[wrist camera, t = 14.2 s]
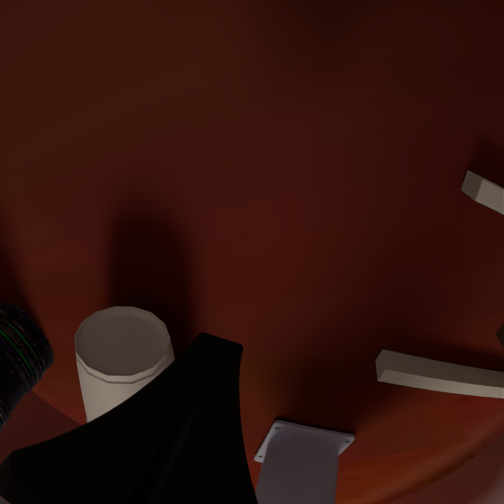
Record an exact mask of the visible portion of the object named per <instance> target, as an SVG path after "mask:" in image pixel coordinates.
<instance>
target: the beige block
mask: <svg viewBox="0 0 504 504" xmlns="http://www.w3.org/2000/svg"><path fill="white" fill-rule="evenodd" d="M496 335H497V337H498V339H499V341H500V342H501V344H502V346H503V348H504V323H503V324H502V326H501V327H500V329H499V330H498V332H497V333H496Z"/></svg>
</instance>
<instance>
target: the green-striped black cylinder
mask: <svg viewBox="0 0 504 504" xmlns="http://www.w3.org/2000/svg"><path fill="white" fill-rule="evenodd" d="M53 362H54V355H53V351H52V349H51V346H50V344H49V342H48V340H47V339H46V337H45V335H44V334H43V332H42V331H41V330H40V328H39V327H38V326H37V325H36V323H35V322H34V321H33V320H32V319H31V318H30V317H29V316H28V315H27V314H26V313H25V312H24V311H23V310H21V309H20V308H19V307H17V306H16V305H14V304H12V303H9V302H5V303H3V304H2V305H1V306H0V431H1V430H2V428H3V426H2V425H4V424H5V423H6V422H7V421H8V419H9V418H10V413H11V412H12V410H13V409H14V408H15V406H16V405H17V404H18V402H19V401H20V400H21V399H22V397H23V396H24V395H25V394H26V393H29V392H30V391H31V389H32V388H33V387H34V385H36V384H37V383H38V382H39V381H40V379H41V378H42V376H43V374H44V373H45V372H46V369H47V368H49V367H50V366H51V365H52V363H53Z"/></svg>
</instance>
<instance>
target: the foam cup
mask: <svg viewBox="0 0 504 504" xmlns="http://www.w3.org/2000/svg"><path fill="white" fill-rule="evenodd" d="M74 337H75V350H76V360H77V367H78V373H79V379H80V385H81V391H82V396H83V401H84V406H85V411H86V415H87V419H86V422H87V423H88V422H90V421H92V420H94V419H95V418H97V417H99V416H101V415H102V414H104V413H106V412H108V411H109V410H111V409H113V408H114V407H116V406H117V405H119V404H120V403H122V402H123V401H125V400H126V399H128V398H129V397H131V396H132V395H134V394H135V393H136V392H138V391H139V390H140V389H141V388H143V387H144V386H145V385H146V384H148V383H149V382H150V381H152V380H153V379H154V378H155V377H157V376H158V375H159V374H160V373H161V372H162V371H163V370H164V369H166V368H167V367H168V366H169V365H170V364H171V363H172V362H173V361H174V360H175V357H174V352H173V348H172V344H171V341H170V336H169V333H168V331H167V328H166V326H165V323H164V322H162V321H161V320H160V319H159V318H157V317H156V316H155V315H154V314H153V313H151V312H148V311H145V310H142V309H139V308H136V307H118V306H114V307H111V308H107V309H104V310H100V311H97V312H95V313H94V314H92V315H91V316H90V317H88V318H87V319H85V320H84V321H83V322H82V323H81V325H80V327H79V329H78V330H77V332H76V334H75V336H74Z"/></svg>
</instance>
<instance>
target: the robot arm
mask: <svg viewBox="0 0 504 504" xmlns="http://www.w3.org/2000/svg"><path fill="white" fill-rule="evenodd" d="M242 352H243V346H242V345H241V344H239V343H236V342H232V341H229V340H226V339H223V338H219V337H216V336H213V335H210V334H207V333H204V332H202V333H200V334H199V335H198V336H197V337H196V338H195V339H194V341H193V342H192V343H191V344H190V345H189V346H188V347H187V348H186V349H185V350H184V351H183V352H182V353H181V354H180V355H179V356H178V357H177V358H176V359H175V360H174V361H173V362H172V363H171V364H170V365H169V366H168V367H167V368H166V369H164V370H163V371H162V372H161V373H160V374H159V375H158V376H157V377H155V378H154V379H153V380H152V381H150V382H149V383H148V384H146V385H145V386H144V387H143V388H141V389H140V390H139V391H138V392H136V393H135V394H134V395H132V396H131V397H129V398H128V399H126V400H125V401H123V402H122V403H120V404H119V405H117V406H116V407H114V408H113V409H111V410H109V411H108V412H106V413H104V414H102V415H101V416H99V417H97V418H95V419H94V420H92V421H90V422H88V423H86V424H84V425H82V426H80V427H78V428H76V429H74V430H71V431H69V432H67V433H64V434H62V435H59V436H57V437H55V438H52V439H50V440H47V441H44V442H41V443H38V444H35V445H31V446H28V447H25V448H21V449H18V450H14V451H12V452H11V453H10V455H9V456H8V457H7V458H6V459H5V460H4V461H3V462H2V464H1V465H0V495H1V496H2V497H3V498H4V499H6V500H7V501H8V502H9V503H11V504H335V494H336V483H337V470H338V456H339V455H340V454H341V453H342V452H343V451H344V450H345V449H346V448H347V447H348V446H349V445H350V444H351V443H352V442H353V440H354V439H355V436H354V435H353V434H348V433H342V432H336V431H331V430H325V429H320V428H315V427H310V426H305V425H300V424H295V423H291V422H287V421H282V420H276V421H274V423H273V424H272V426H271V428H270V430H269V432H268V434H267V435H266V437H265V439H264V441H263V443H262V444H261V446H260V448H259V450H258V452H257V453H256V455H255V457H254V460H255V461H258V462H262V467H261V471H260V475H259V479H258V483H257V488H256V492H255V491H254V488H253V484H252V481H251V477H250V472H249V468H248V463H247V458H246V453H245V448H244V442H243V435H242V426H241V417H240V400H239V374H240V362H241V356H242ZM3 498H1V497H0V504H9V503H7V502H6V501H5V500H4V499H3Z"/></svg>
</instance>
